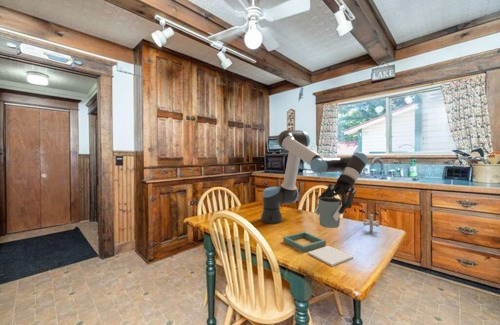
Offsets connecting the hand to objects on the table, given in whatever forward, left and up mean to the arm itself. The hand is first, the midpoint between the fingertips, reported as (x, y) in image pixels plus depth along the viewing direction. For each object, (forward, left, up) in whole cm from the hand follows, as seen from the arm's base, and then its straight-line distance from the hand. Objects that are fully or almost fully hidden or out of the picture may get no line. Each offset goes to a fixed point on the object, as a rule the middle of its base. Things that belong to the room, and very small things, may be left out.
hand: (325, 215), depth 102 cm
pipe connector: (-9, +50, -19) cm, 54 cm away
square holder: (-17, +3, -19) cm, 26 cm away
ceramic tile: (0, +3, -19) cm, 19 cm away
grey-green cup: (0, +3, -5) cm, 6 cm away
